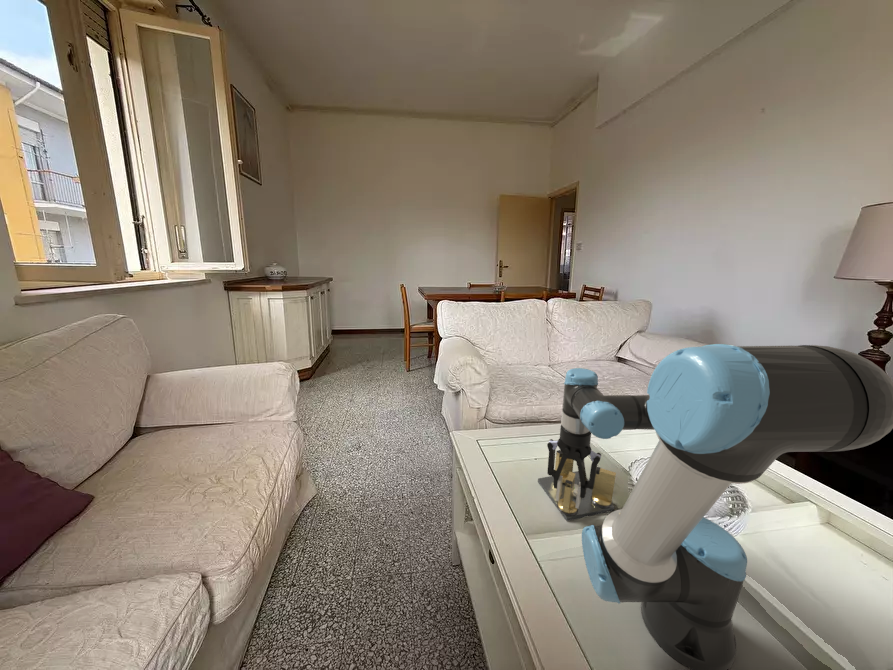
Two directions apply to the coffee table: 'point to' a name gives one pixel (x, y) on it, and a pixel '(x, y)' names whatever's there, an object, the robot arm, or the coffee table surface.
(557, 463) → the far knob
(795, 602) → the coffee table surface
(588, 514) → the plate
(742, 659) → the coffee table surface
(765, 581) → the coffee table surface
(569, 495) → the front knob
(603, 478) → the side knob
